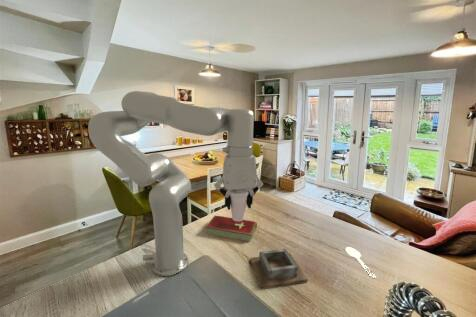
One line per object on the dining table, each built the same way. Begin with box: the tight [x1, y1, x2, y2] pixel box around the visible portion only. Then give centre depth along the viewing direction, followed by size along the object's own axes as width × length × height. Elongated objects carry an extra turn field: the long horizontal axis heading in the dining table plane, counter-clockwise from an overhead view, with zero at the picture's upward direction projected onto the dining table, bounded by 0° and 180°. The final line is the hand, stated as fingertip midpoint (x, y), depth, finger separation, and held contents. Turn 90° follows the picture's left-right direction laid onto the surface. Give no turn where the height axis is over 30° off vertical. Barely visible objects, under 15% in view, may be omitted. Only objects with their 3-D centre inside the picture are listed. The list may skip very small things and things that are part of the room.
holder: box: [249, 248, 309, 289], centre depth 82 cm, size 16×14×4 cm
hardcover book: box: [204, 215, 258, 242], centre depth 107 cm, size 12×21×4 cm, turn 74°
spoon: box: [344, 246, 377, 279], centre depth 89 cm, size 5×18×1 cm, turn 2°
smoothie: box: [230, 189, 249, 221], centre depth 73 cm, size 6×6×14 cm
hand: (238, 206), depth 74 cm, fingers closed on smoothie, 5 cm apart
